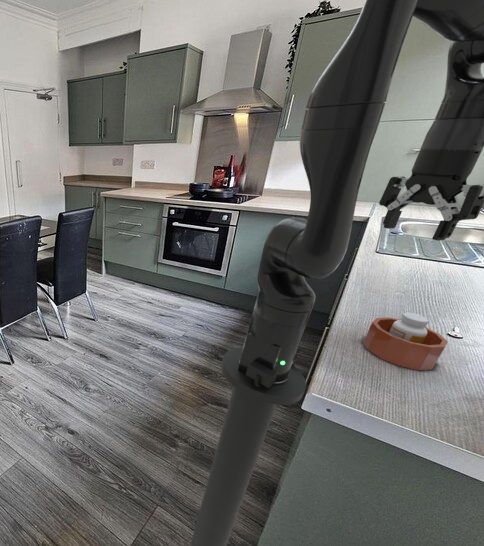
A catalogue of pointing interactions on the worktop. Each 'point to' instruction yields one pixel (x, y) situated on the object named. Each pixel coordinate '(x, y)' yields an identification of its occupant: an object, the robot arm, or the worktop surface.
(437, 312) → the worktop surface
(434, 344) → the pot
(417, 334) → the supplement bottle
